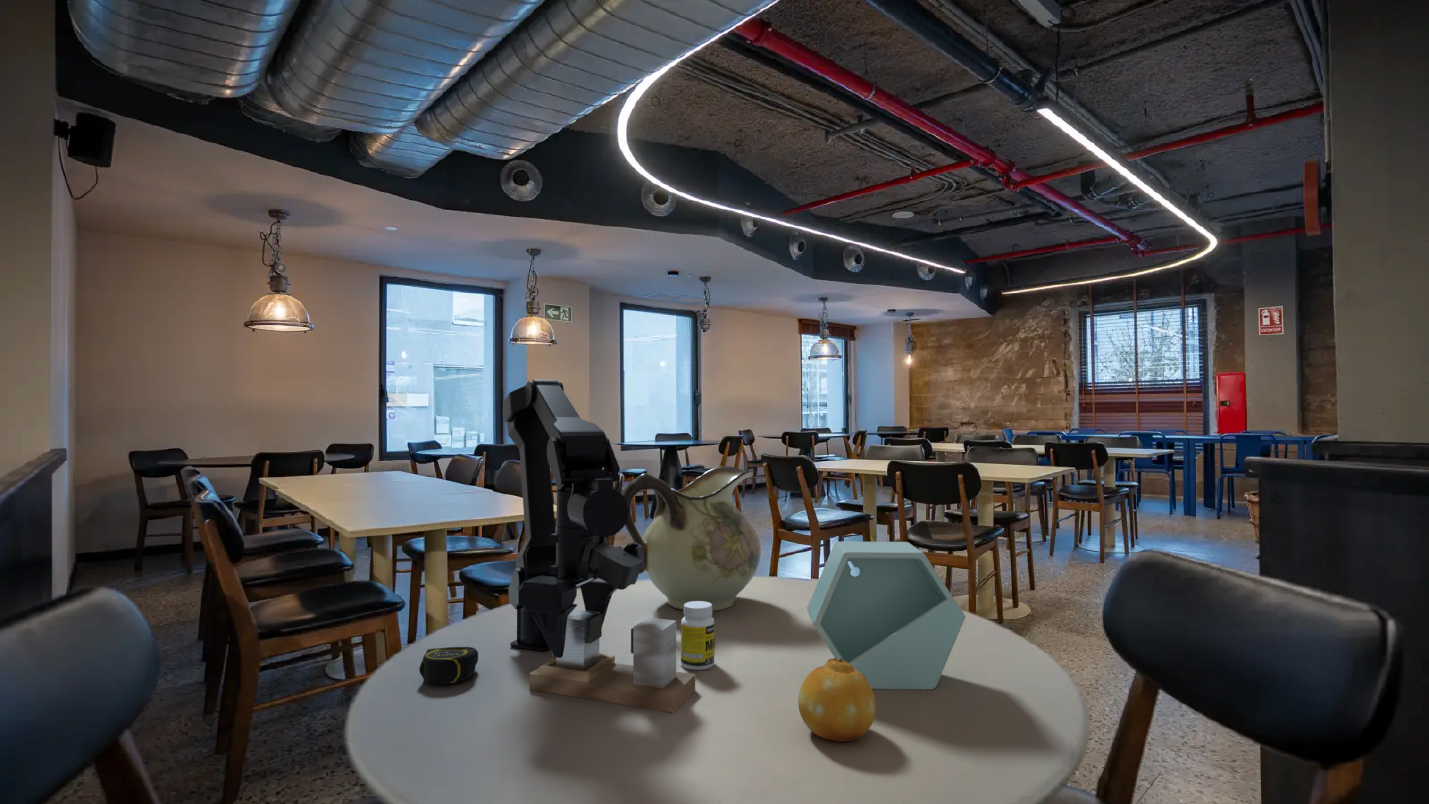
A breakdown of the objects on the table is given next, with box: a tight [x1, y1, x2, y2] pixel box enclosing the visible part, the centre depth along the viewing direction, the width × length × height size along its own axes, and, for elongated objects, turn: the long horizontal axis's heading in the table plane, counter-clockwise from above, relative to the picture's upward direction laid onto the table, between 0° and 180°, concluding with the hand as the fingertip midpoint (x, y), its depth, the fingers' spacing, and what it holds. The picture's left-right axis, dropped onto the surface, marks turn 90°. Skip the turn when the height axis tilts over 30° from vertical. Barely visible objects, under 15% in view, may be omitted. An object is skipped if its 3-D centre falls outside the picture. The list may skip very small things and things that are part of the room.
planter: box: [806, 541, 966, 691], centre depth 91 cm, size 17×8×21 cm
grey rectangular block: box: [556, 608, 603, 671], centre depth 89 cm, size 4×5×7 cm
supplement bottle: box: [680, 601, 715, 671], centre depth 96 cm, size 5×5×8 cm
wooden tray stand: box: [528, 617, 696, 713], centre depth 87 cm, size 20×7×9 cm, turn 70°
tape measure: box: [418, 646, 479, 685], centre depth 91 cm, size 7×7×4 cm
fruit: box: [797, 657, 877, 742], centre depth 75 cm, size 8×8×8 cm
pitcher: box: [621, 465, 762, 612], centre depth 127 cm, size 22×24×25 cm
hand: (577, 645), depth 89 cm, fingers open, 9 cm apart
